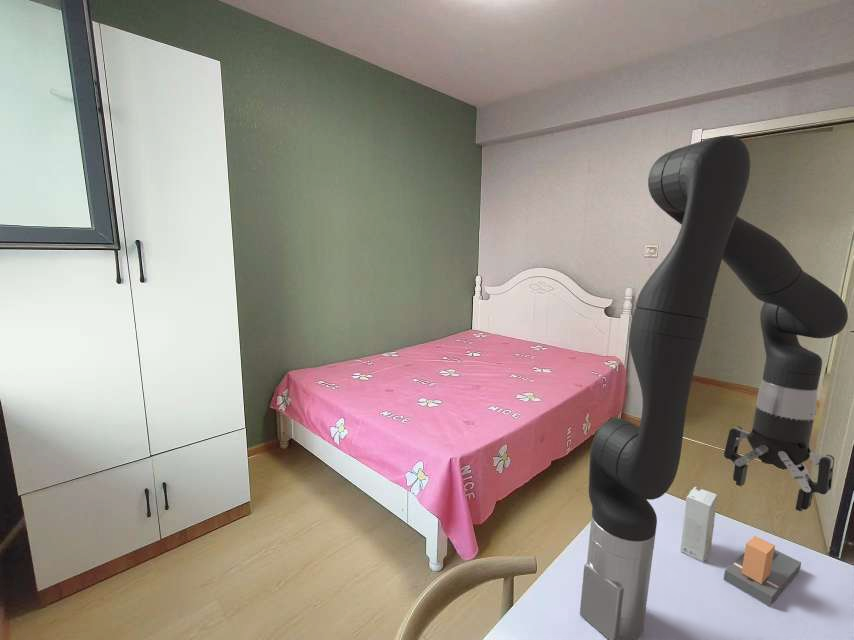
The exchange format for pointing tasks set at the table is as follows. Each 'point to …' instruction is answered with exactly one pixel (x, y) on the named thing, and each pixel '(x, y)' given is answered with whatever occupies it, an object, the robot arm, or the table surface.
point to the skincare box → (698, 523)
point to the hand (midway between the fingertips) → (768, 496)
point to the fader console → (774, 584)
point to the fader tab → (758, 559)
